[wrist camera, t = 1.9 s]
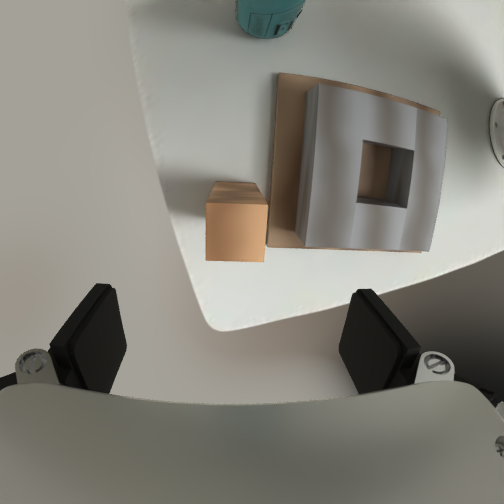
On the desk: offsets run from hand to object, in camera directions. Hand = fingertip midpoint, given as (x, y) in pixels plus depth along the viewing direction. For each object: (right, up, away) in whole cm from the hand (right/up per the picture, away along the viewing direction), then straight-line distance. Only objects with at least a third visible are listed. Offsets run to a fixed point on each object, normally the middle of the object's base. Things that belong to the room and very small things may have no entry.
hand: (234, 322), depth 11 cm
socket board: (+14, +13, +21) cm, 28 cm away
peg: (-1, +8, +21) cm, 23 cm away
